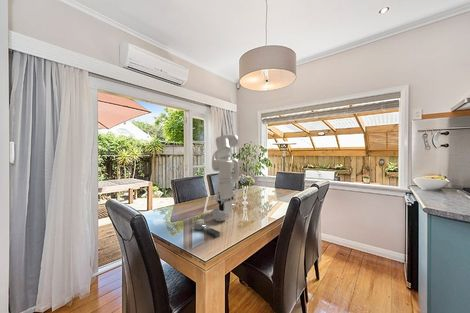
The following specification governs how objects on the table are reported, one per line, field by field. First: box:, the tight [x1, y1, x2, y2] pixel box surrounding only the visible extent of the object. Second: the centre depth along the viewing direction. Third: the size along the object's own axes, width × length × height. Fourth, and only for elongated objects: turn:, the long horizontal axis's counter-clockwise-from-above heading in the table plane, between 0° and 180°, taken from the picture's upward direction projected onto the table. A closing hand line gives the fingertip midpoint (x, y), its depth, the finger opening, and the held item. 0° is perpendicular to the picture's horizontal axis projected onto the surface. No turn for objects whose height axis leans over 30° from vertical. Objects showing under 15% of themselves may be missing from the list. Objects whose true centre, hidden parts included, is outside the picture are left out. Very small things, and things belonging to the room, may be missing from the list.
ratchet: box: [193, 218, 221, 239], centre depth 123 cm, size 21×8×6 cm, turn 43°
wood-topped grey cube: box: [219, 199, 233, 214], centre depth 127 cm, size 6×6×7 cm
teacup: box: [211, 206, 228, 222], centre depth 145 cm, size 14×11×8 cm
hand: (225, 208), depth 127 cm, fingers closed on wood-topped grey cube, 6 cm apart
